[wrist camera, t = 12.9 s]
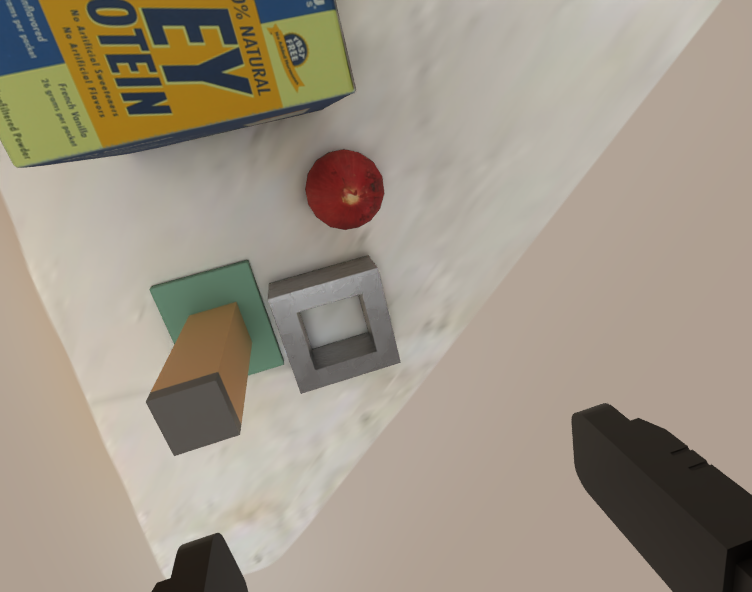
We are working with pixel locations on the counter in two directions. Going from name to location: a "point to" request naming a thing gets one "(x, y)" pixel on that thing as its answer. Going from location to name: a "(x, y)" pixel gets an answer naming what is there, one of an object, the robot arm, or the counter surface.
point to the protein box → (159, 72)
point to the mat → (217, 291)
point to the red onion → (344, 189)
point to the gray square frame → (346, 354)
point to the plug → (203, 381)
